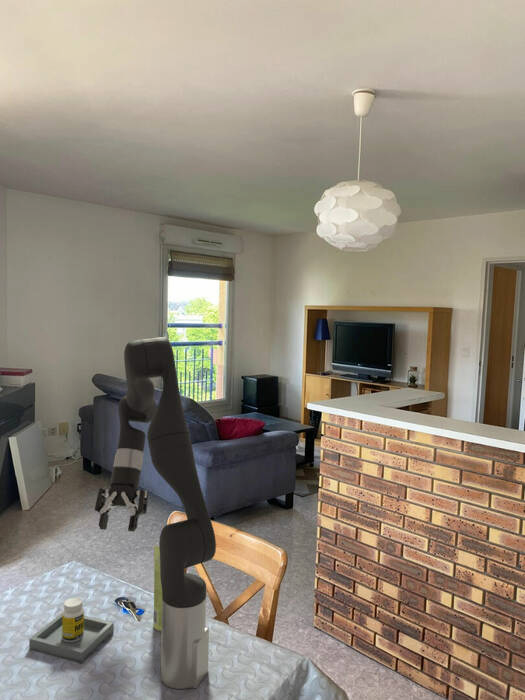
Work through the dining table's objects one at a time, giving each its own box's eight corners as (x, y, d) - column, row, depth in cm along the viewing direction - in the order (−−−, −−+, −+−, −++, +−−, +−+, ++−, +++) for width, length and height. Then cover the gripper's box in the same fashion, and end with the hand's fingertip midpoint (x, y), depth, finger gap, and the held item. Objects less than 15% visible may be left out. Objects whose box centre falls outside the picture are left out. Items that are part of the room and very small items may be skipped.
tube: (175, 618, 133) (177, 543, 132) (177, 630, 128) (178, 552, 127) (152, 621, 132) (153, 544, 131) (153, 633, 127) (154, 554, 126)
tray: (113, 632, 127) (113, 622, 127) (81, 663, 115) (82, 652, 115) (64, 620, 131) (64, 610, 131) (29, 649, 120) (29, 638, 119)
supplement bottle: (76, 644, 121) (76, 609, 120) (57, 641, 122) (57, 606, 121) (87, 632, 125) (87, 598, 125) (69, 629, 126) (69, 595, 126)
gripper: (97, 464, 143) (85, 527, 137) (143, 465, 139) (133, 530, 133) (112, 469, 150) (101, 530, 144) (157, 470, 145) (148, 533, 139)
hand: (116, 530), depth 138 cm, fingers open, 8 cm apart
